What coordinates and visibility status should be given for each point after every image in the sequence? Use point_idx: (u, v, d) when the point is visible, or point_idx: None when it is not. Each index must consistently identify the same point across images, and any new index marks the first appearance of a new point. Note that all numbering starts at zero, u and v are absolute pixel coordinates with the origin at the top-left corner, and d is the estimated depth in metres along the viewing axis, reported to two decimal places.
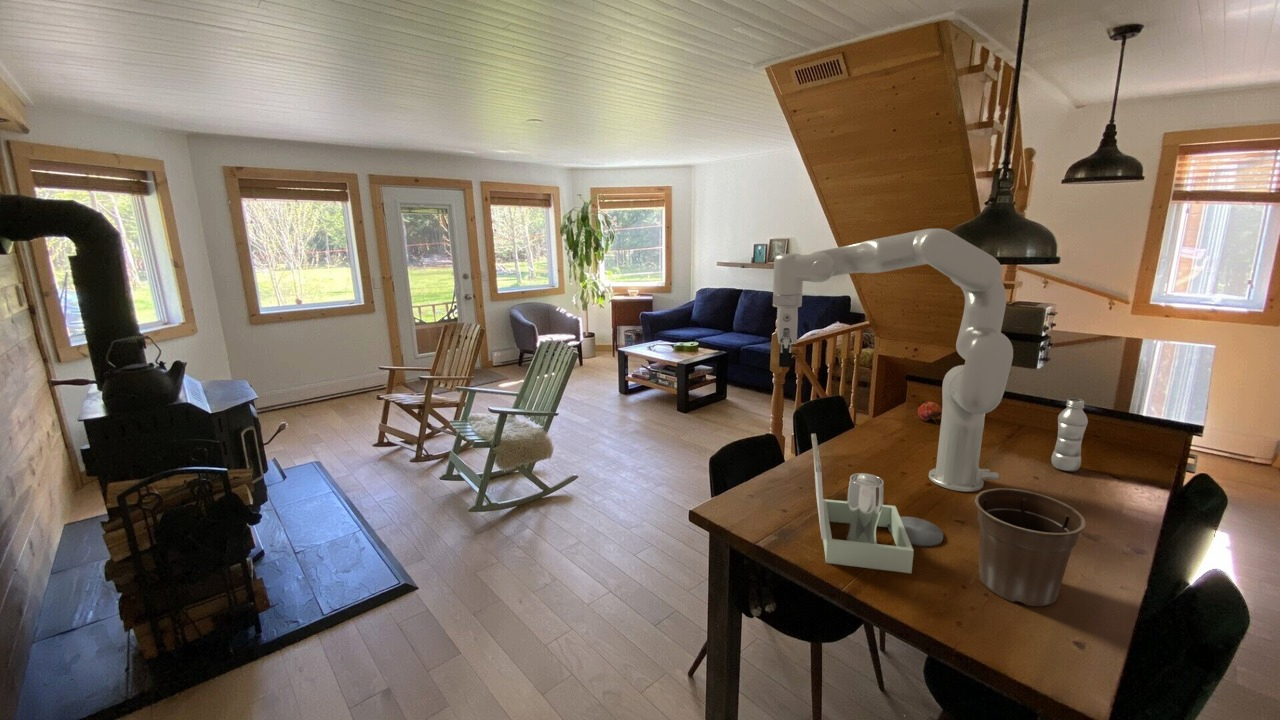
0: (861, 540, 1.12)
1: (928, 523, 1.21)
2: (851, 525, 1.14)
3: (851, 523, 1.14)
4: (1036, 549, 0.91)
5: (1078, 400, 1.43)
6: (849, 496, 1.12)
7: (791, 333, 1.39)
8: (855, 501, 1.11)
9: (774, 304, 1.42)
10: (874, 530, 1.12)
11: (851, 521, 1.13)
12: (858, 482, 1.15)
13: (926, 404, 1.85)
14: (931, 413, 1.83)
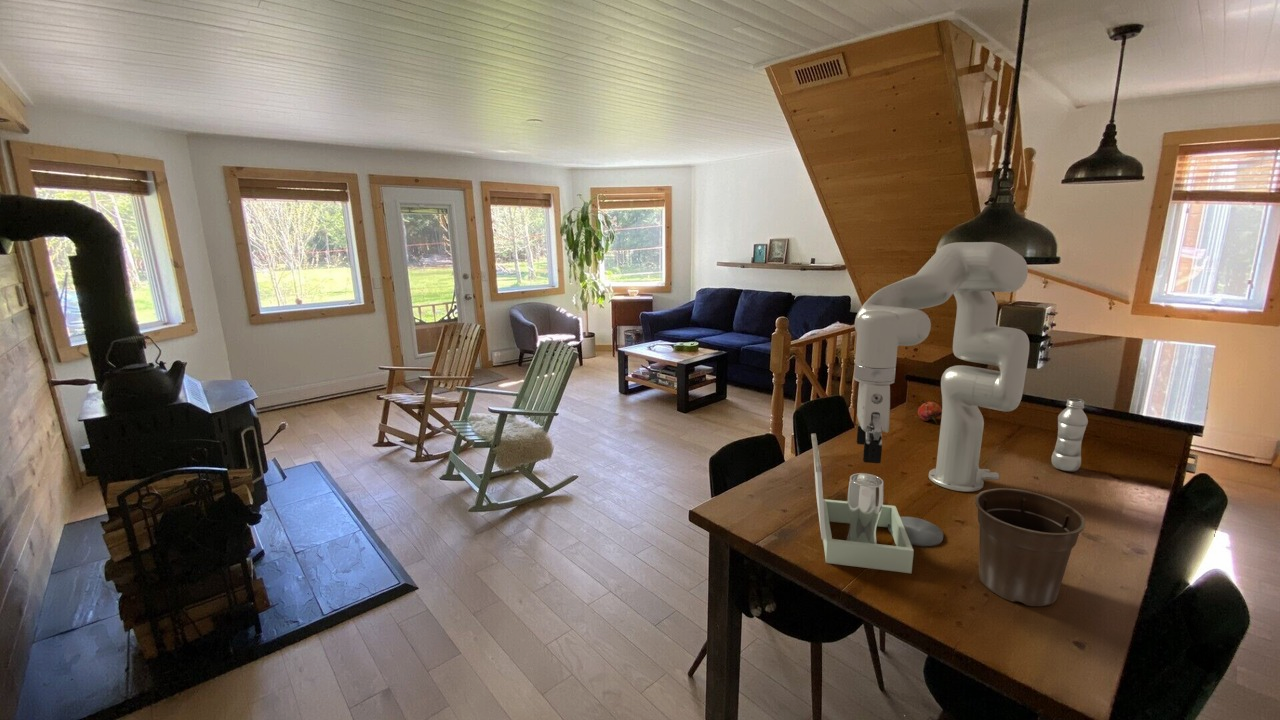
0: (861, 540, 1.12)
1: (928, 523, 1.21)
2: (851, 525, 1.14)
3: (851, 523, 1.14)
4: (1036, 549, 0.91)
5: (1078, 400, 1.43)
6: (849, 496, 1.12)
7: (882, 419, 1.03)
8: (855, 501, 1.11)
9: (857, 378, 1.06)
10: (874, 530, 1.12)
11: (851, 521, 1.13)
12: (858, 482, 1.15)
13: (926, 404, 1.85)
14: (931, 413, 1.83)
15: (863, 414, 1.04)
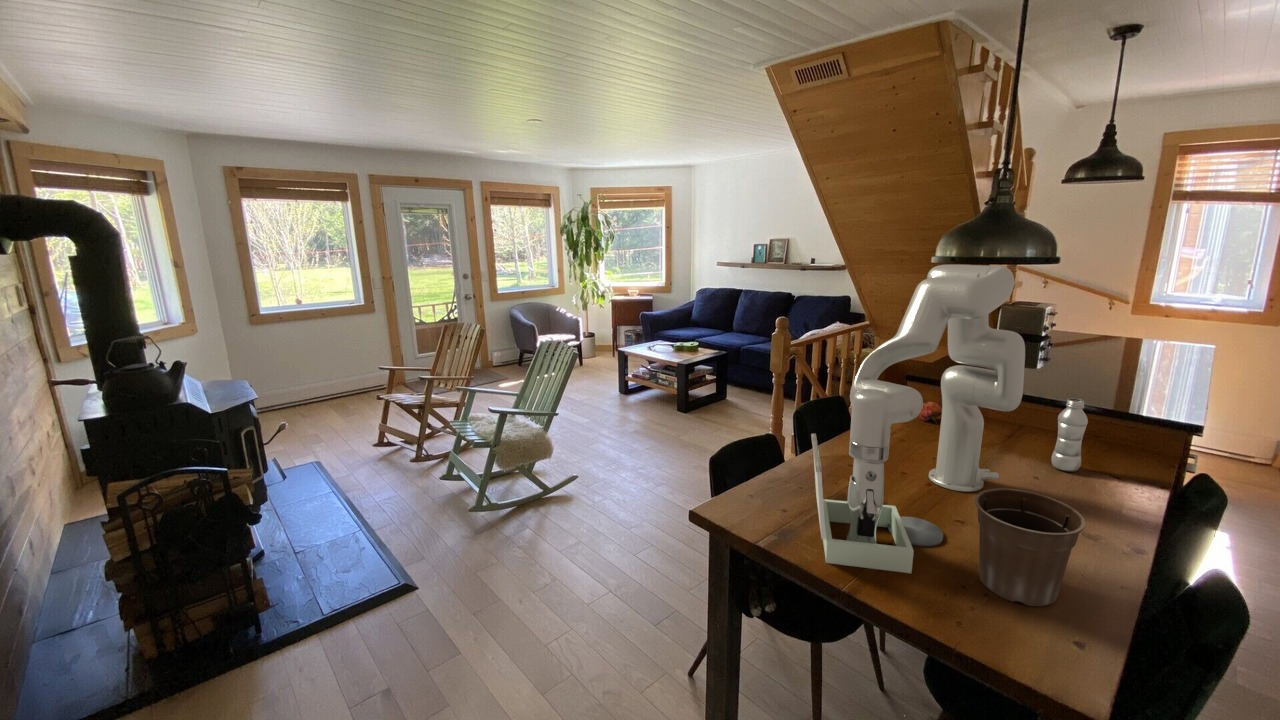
0: (861, 540, 1.12)
1: (928, 523, 1.21)
2: (851, 525, 1.14)
3: (851, 523, 1.14)
4: (1036, 549, 0.91)
5: (1078, 400, 1.43)
6: (849, 496, 1.12)
7: (876, 496, 1.07)
8: (855, 502, 1.11)
9: (852, 454, 1.10)
10: (874, 530, 1.12)
11: (851, 521, 1.13)
12: None
13: (926, 404, 1.85)
14: (931, 413, 1.83)
15: (858, 490, 1.08)
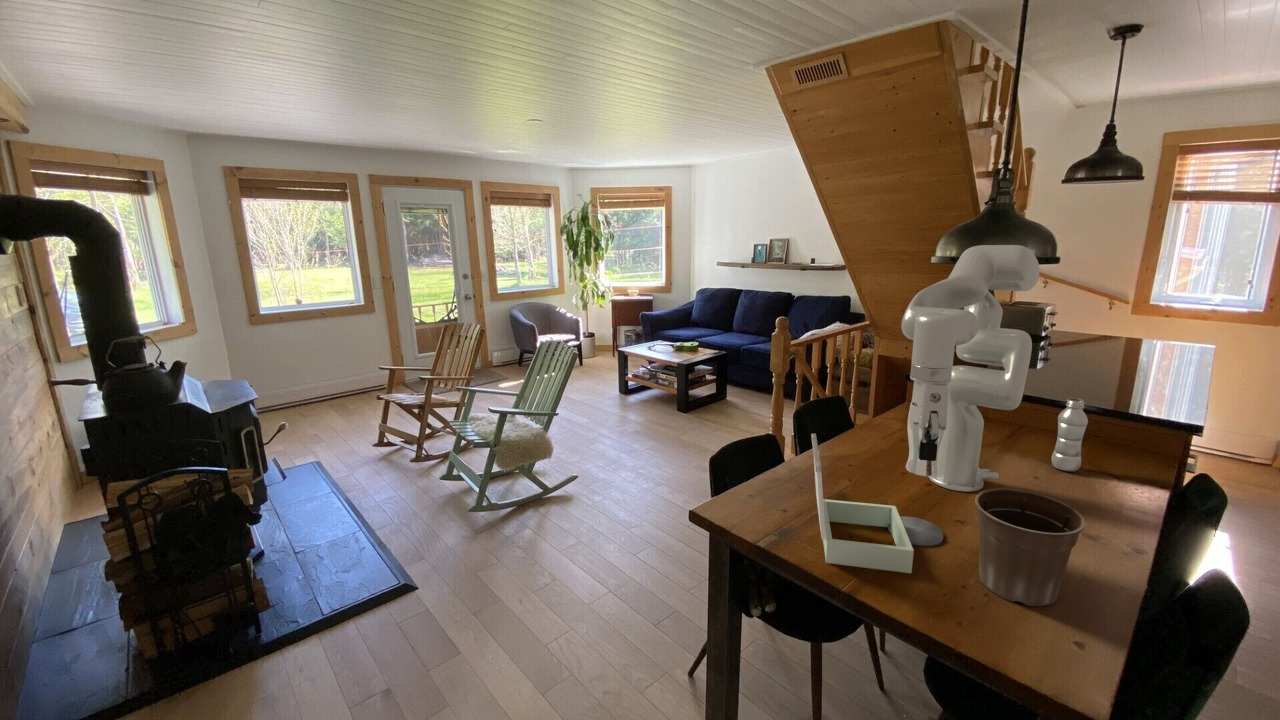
0: (922, 465, 1.12)
1: (928, 523, 1.21)
2: (911, 451, 1.14)
3: (911, 449, 1.14)
4: (1036, 549, 0.91)
5: (1078, 400, 1.43)
6: (910, 421, 1.12)
7: (940, 417, 1.07)
8: (917, 426, 1.11)
9: (915, 378, 1.10)
10: None
11: (911, 447, 1.13)
12: None
13: None
14: None
15: (921, 412, 1.08)
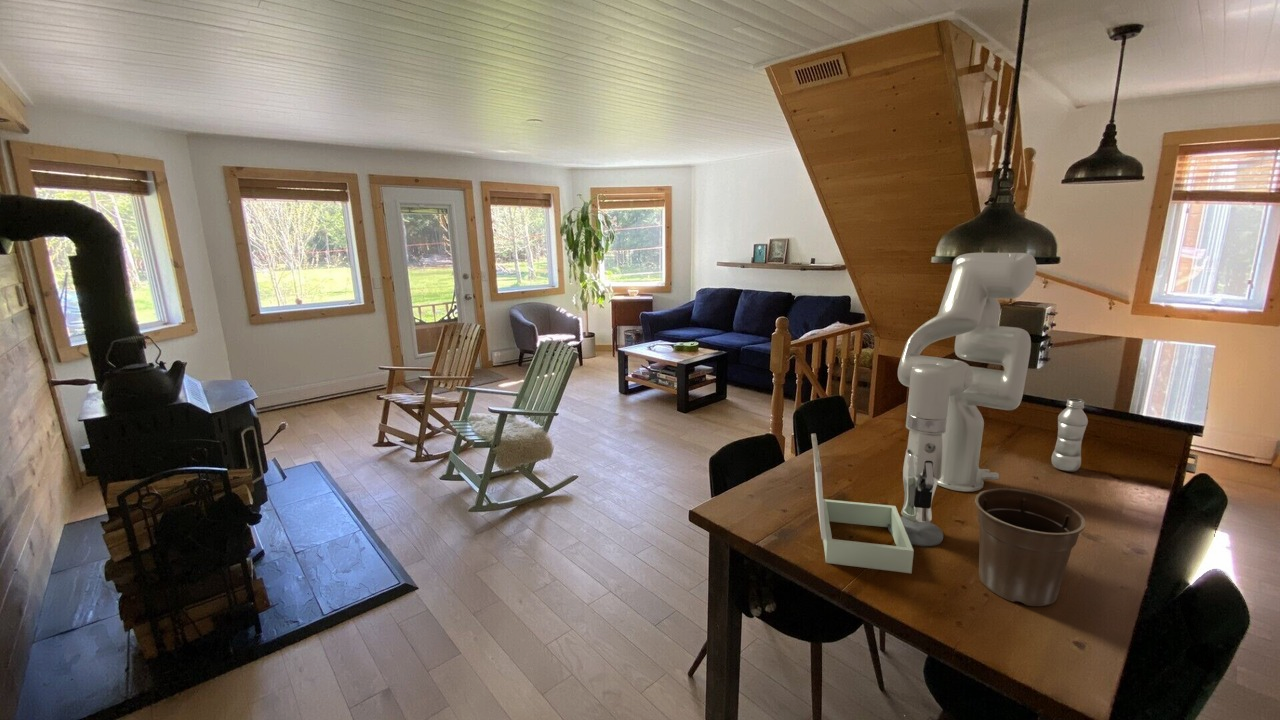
0: (917, 512, 1.15)
1: (928, 523, 1.21)
2: (907, 497, 1.16)
3: (907, 495, 1.16)
4: (1036, 549, 0.91)
5: (1078, 400, 1.43)
6: (905, 469, 1.15)
7: (935, 467, 1.09)
8: (912, 474, 1.13)
9: (910, 427, 1.12)
10: None
11: (907, 493, 1.16)
12: None
13: None
14: None
15: (916, 462, 1.11)
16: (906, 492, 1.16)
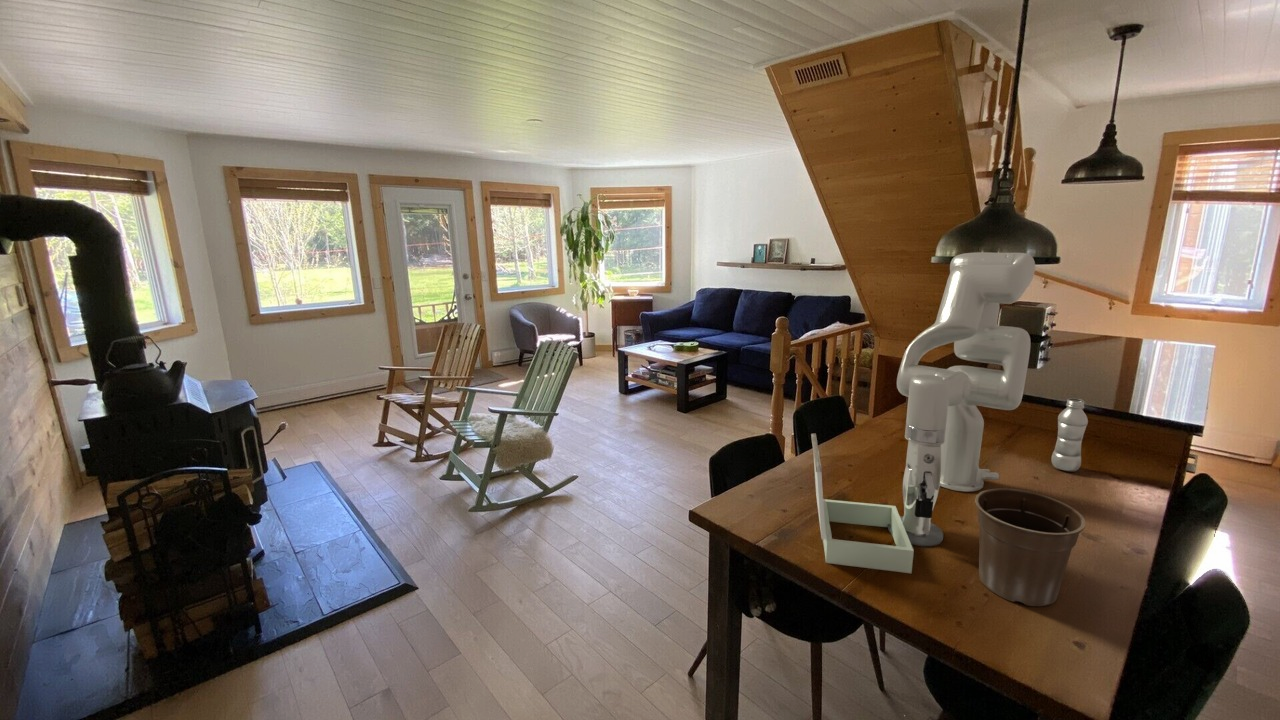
0: (916, 526, 1.15)
1: None
2: (906, 511, 1.17)
3: (906, 509, 1.17)
4: (1036, 549, 0.91)
5: (1078, 400, 1.43)
6: (905, 483, 1.16)
7: (934, 478, 1.10)
8: (912, 488, 1.14)
9: (909, 438, 1.13)
10: None
11: (906, 507, 1.17)
12: None
13: None
14: None
15: (915, 472, 1.11)
16: (906, 506, 1.17)
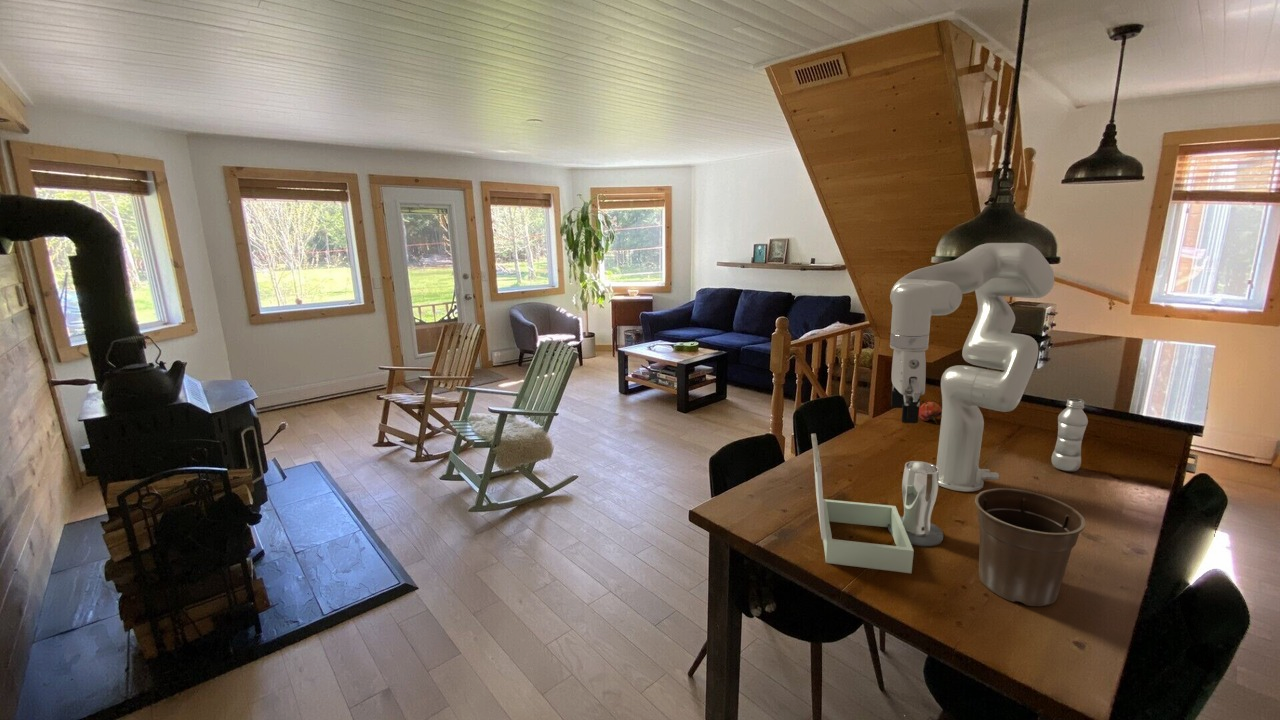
0: (916, 526, 1.15)
1: None
2: (906, 511, 1.17)
3: (906, 509, 1.17)
4: (1036, 549, 0.91)
5: (1078, 400, 1.43)
6: (904, 483, 1.16)
7: (919, 382, 1.13)
8: (911, 488, 1.14)
9: (894, 346, 1.15)
10: (929, 516, 1.15)
11: (906, 507, 1.17)
12: (912, 470, 1.19)
13: (926, 404, 1.85)
14: (931, 413, 1.83)
15: (901, 379, 1.14)
16: (905, 506, 1.17)
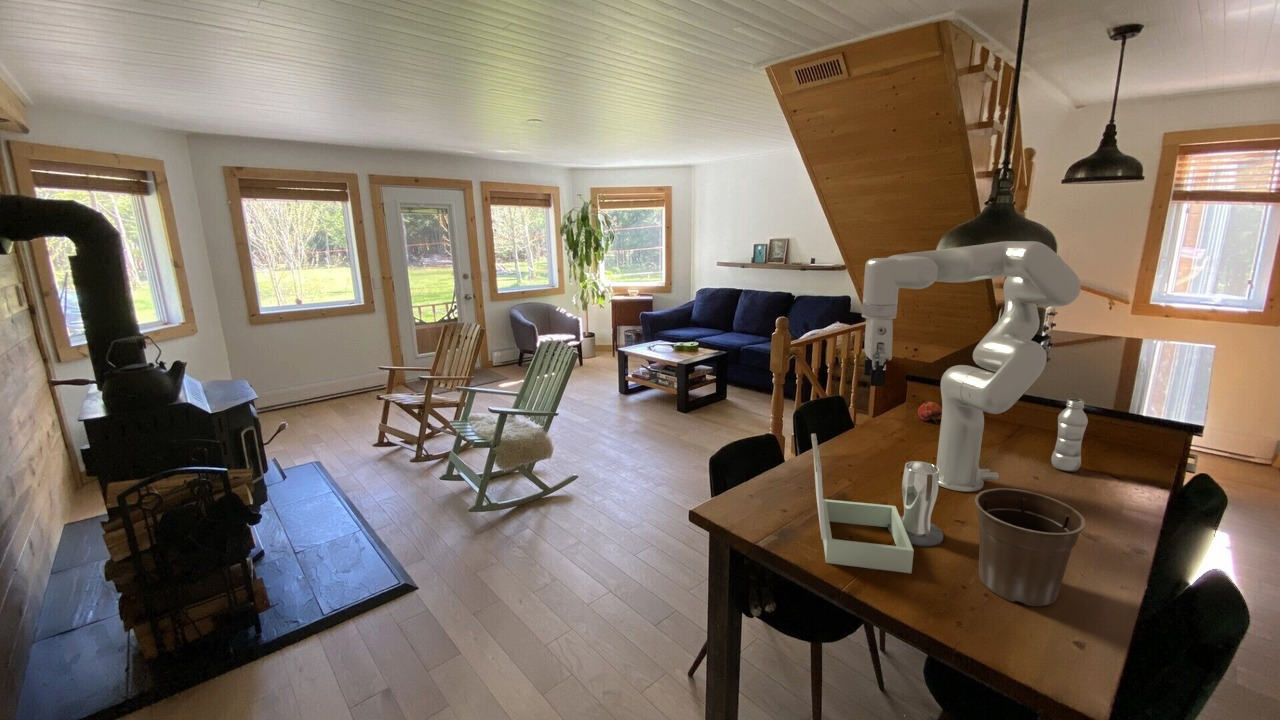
0: (916, 526, 1.15)
1: None
2: (906, 511, 1.17)
3: (906, 510, 1.17)
4: (1036, 549, 0.91)
5: (1078, 400, 1.43)
6: (905, 483, 1.15)
7: (886, 348, 1.23)
8: (911, 488, 1.14)
9: (865, 315, 1.25)
10: (929, 516, 1.15)
11: (906, 508, 1.17)
12: (912, 470, 1.18)
13: (926, 404, 1.85)
14: (931, 413, 1.83)
15: (870, 345, 1.24)
16: (905, 506, 1.17)
